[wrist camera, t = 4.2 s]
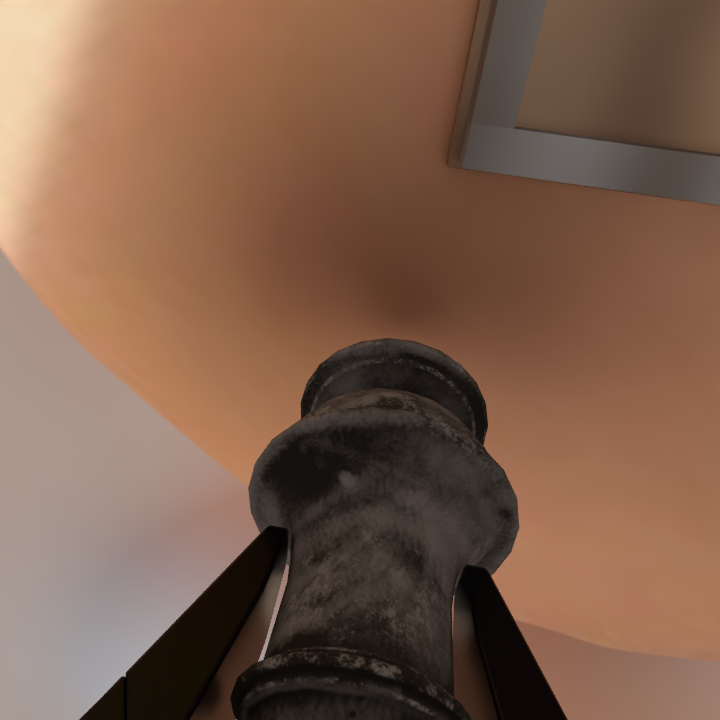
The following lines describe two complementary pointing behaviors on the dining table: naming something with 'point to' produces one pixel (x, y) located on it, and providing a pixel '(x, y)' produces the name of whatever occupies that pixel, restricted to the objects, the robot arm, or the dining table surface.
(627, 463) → the dining table surface
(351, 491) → the dark grey chess piece
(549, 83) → the socket
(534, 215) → the dining table surface
